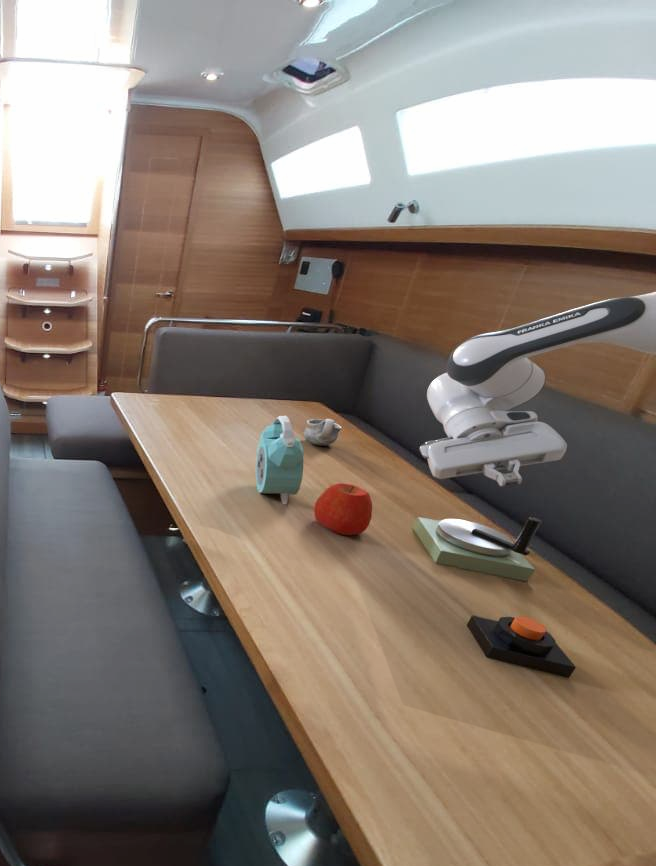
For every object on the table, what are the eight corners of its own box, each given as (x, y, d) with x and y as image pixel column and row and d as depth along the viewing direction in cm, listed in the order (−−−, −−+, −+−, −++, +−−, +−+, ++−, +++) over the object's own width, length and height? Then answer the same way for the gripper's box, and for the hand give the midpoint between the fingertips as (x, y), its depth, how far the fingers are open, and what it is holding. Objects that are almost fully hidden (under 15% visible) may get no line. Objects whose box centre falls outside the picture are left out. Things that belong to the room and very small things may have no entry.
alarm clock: (298, 511, 119) (324, 432, 110) (256, 504, 121) (277, 427, 112) (283, 481, 134) (304, 410, 125) (245, 476, 136) (264, 405, 127)
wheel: (538, 562, 96) (561, 523, 93) (482, 562, 95) (503, 524, 92) (472, 524, 109) (490, 489, 105) (422, 524, 108) (438, 489, 104)
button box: (540, 642, 81) (553, 623, 79) (568, 678, 74) (583, 658, 72) (466, 625, 84) (476, 606, 82) (486, 657, 77) (498, 638, 75)
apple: (304, 527, 112) (318, 485, 107) (316, 510, 119) (330, 470, 115) (359, 546, 105) (377, 502, 101) (368, 527, 113) (385, 485, 108)
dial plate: (493, 543, 109) (500, 531, 107) (527, 581, 96) (535, 568, 95) (412, 528, 113) (417, 516, 112) (435, 562, 101) (441, 550, 99)
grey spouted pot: (329, 440, 165) (339, 411, 160) (342, 454, 153) (353, 423, 149) (297, 437, 166) (306, 408, 162) (308, 450, 155) (318, 420, 151)
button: (533, 628, 78) (539, 620, 78) (545, 643, 75) (551, 635, 75) (505, 622, 80) (510, 613, 79) (516, 637, 76) (521, 628, 76)
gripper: (417, 434, 105) (445, 483, 96) (545, 409, 97) (588, 460, 88) (414, 453, 109) (441, 502, 101) (537, 431, 101) (578, 482, 92)
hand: (511, 483), depth 94 cm, fingers closed
